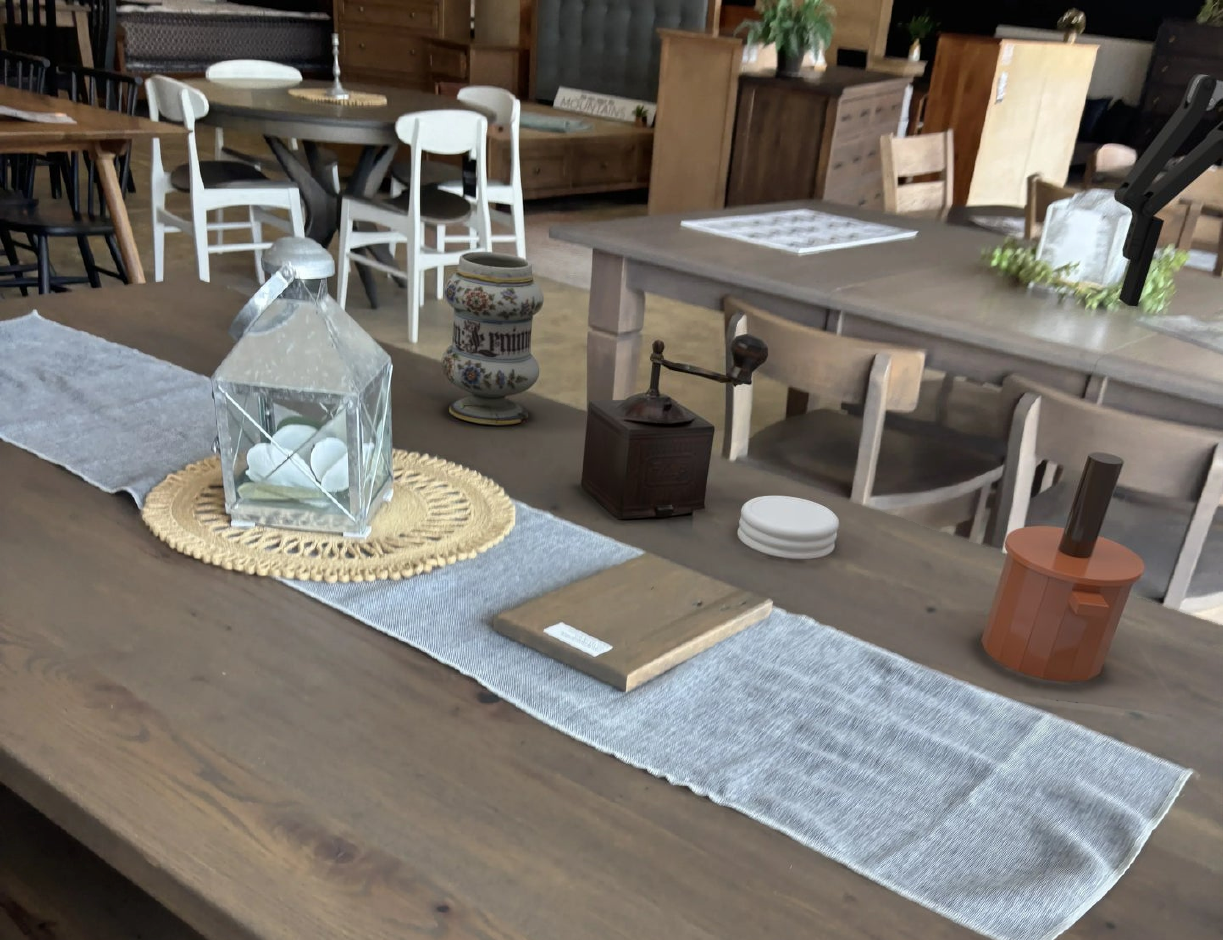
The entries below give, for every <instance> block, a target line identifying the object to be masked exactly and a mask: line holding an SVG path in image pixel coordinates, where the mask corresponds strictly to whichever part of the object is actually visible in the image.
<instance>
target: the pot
mask: <svg viewBox="0 0 1223 940" xmlns="http://www.w3.org/2000/svg"><path fill="white" fill-rule="evenodd" d="M1006 553H1007V554H1006V557H1005V561H1004V564H1003V567H1002V570H1001V574H1000V577H999V580H998V583H997V587H996V591H995V594H994V597H993V600H992V604H991V607H990V610H989V613H988V616H987V620H986V624H985V627H984V630H983V634H982V636H981V637H982V638H981V640H980V641H981V644H982V646H983V649H984V651H985V652H986V654H988V655H989V656H990V657H991V658H993V659H994V660H995V661H996V662H998V663H999V664H1001V665H1004V666H1005V667H1007V668H1010V669H1012V670H1014V671H1016V672H1019V673H1021V674H1024V675H1028V676H1031V677H1034V678H1035V677H1036V678H1038V679H1041V680H1046V681H1047V680H1049V681H1056V682H1065V683H1070V682H1071V683H1072V682H1083V681H1088V680H1091V679H1093V678H1095V677H1097V676H1099V675H1100V674H1101V672H1102V669H1103V666H1104V664H1105V660H1106V658H1107V655H1108V652H1109V650H1110V647H1111V644H1112V641H1113V640H1114V637H1115V634H1116V631H1117V628H1118V626H1119V623H1120V620H1121V618H1122V615H1123V612H1124V610H1125V607H1126V604H1127V601H1128V598H1129V596H1130V593H1131V590H1132V588H1133V586H1134V583H1132V584H1129V585H1124V586H1110V587H1106V586H1091V585H1084V584H1078V583H1072V582H1068V581H1064V580H1060V579H1056V578H1053V577H1050V576H1047V575H1044V574H1041V573H1039V572H1036V571H1034V570H1032V569H1030V568H1028V567H1026V566H1024V565H1022V564H1021V563H1019V562H1017V561H1016V560H1015V559H1013V558H1012V557H1011V556H1010V555H1009V554H1008V552H1006Z"/></svg>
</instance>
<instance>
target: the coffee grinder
mask: <svg viewBox="0 0 1223 940" xmlns="http://www.w3.org/2000/svg"><path fill="white" fill-rule="evenodd" d="M651 347H652V348H651V349H652V352H651V354H650V356H649V361H650V362H651V372H650V381H649V388H648V389H647V391H645V392H640V393H635V394H633V395H631V396H628V397H626V398H625V399H608V400H589V402H588V405H587V416H586V424H585V425H586V427H585V436H584V449H583V458H582V459H583V460H582V469H581V470H582V472H581V479H580V485H581V487H582V488H583V489H584V491H585V492H586V493H587V494H588V495H589V496H591V497H592V498H593V499H594V500H595V501H596V502H597V503H599V504H600V505H601V506H602V507H603V508H604V509H605V510H607V511H608V512H609V513H610V514H611V515H613V516H614V517H615V518H617V519H619V520H636V519H637V520H638V519H651V518H655V519H656V518H667V517H673V516H679V515H689V514H693V513H694V511H696V510H704V509H706V505H705V501H706V492H707V484H708V478H709V471H710V464H711V457H712V449H713V443H714V438H715V437H714V436H715V432H716V431H715V430H716V429H715V425H714V424H712V423H711V422H709V421H708V420H706V419H705V418H703V417H702V416H700V415H698V414H697V413H695V412H693V410H691V409H689V408H687V407H686V406H684V405H682V404H680V403H678V401H676V400H675V399H674V398H672V397H671V396H669V395H667V394H664V393H661V392H660V376H661V369H662V368H661V367H662V366H663V367H664V368H666V369H667V370H669V371H672V372H678V373H681V374H682V373H683V374H687V375H688V374H689V375H692V376H696V377H697V376H698V377H701V378H704V379H708V380H711V381H714V382H717V383H719V384H732V386H733V387H734V388H736V387H737V386H742V385H747V386H751V385H752V383H753V380H752V378H753V376H752V375H753V373H754V371H756V370H757V368H759V367H760V366H761V365H763V364H765V363H766V361H767V360H768V357H769V348H768V347H769V346H767V345H766V343H765V342H764V341H763V339H761V338H760V337H758V336H757V335H753V334H750V333H743V334H739V335H736V336H735V337H734V338H733V339H732V341H731V343H730V352H731V356H732V364H731V367H730V368H729V370H728V371H726V373H725V374H722V373H719V372H715V371H712V370H709V369H707V368H703V367H700V366H696V365H691V364H686V363H681V362H673V361H670V360H667V359H665V356H664V354H663V353H664V350H665V347H666V346H665V343H664V341H662V340H660V339H655V340H654V342H653V343H652V345H651Z"/></svg>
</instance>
